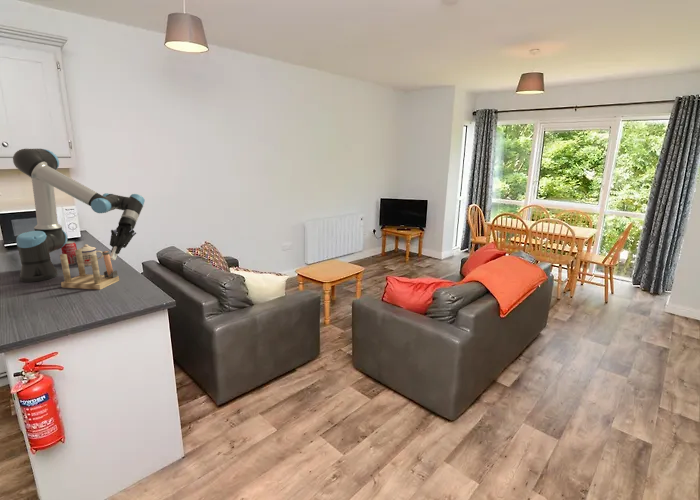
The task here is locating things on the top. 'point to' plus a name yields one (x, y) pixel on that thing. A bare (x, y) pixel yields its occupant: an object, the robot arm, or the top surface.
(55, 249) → the robot arm
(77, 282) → the stool
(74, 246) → the soda can
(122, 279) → the top surface
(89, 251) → the teacup with lid
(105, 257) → the folding leg
